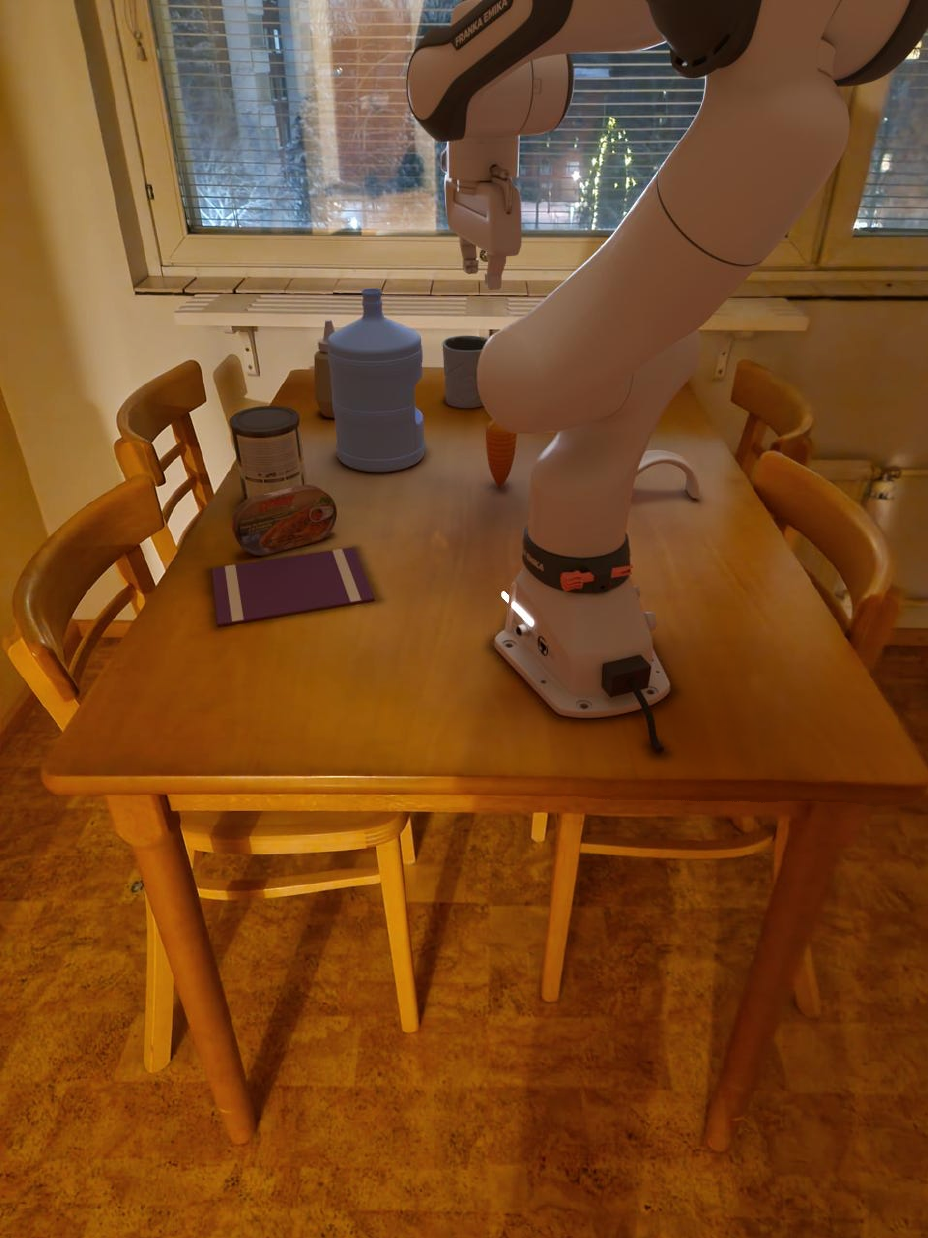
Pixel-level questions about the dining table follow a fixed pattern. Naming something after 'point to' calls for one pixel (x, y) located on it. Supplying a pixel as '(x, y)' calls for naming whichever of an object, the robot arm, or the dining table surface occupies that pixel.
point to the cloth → (289, 586)
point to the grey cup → (462, 370)
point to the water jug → (376, 391)
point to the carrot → (500, 451)
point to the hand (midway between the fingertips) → (481, 280)
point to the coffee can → (268, 449)
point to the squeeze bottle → (324, 373)
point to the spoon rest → (674, 459)
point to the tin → (283, 519)
